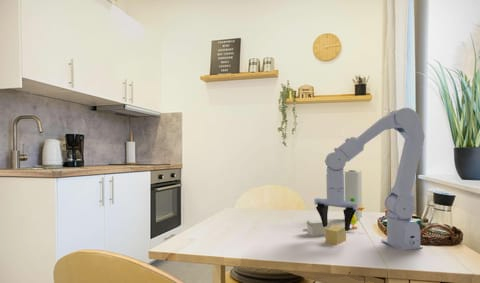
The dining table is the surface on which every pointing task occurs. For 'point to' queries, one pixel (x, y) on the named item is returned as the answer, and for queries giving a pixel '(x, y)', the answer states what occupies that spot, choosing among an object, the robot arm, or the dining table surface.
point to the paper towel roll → (354, 189)
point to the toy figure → (354, 215)
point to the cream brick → (316, 227)
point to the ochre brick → (335, 234)
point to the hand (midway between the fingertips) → (335, 228)
